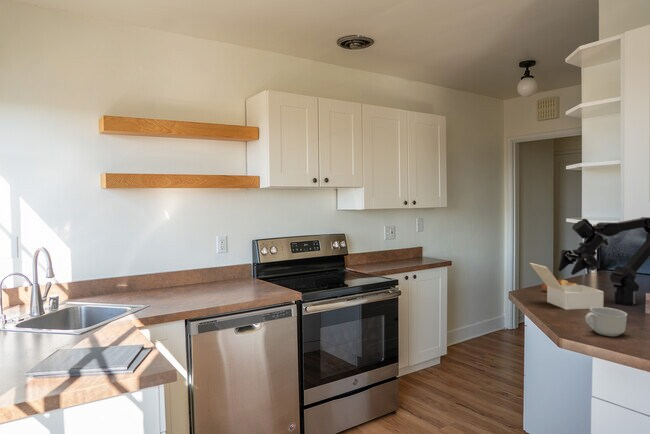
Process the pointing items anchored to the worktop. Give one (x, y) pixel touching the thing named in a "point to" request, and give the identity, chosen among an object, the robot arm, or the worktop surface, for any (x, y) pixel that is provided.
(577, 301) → the carton
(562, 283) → the croissant
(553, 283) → the flap
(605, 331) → the teacup
